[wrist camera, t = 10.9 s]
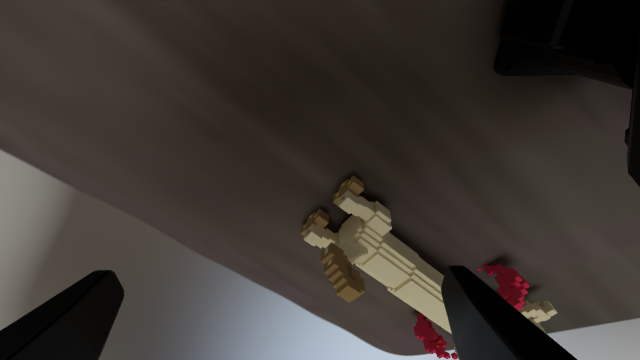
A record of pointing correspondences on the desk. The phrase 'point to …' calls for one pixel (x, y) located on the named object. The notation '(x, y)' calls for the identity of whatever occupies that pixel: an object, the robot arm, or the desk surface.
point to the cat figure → (398, 266)
